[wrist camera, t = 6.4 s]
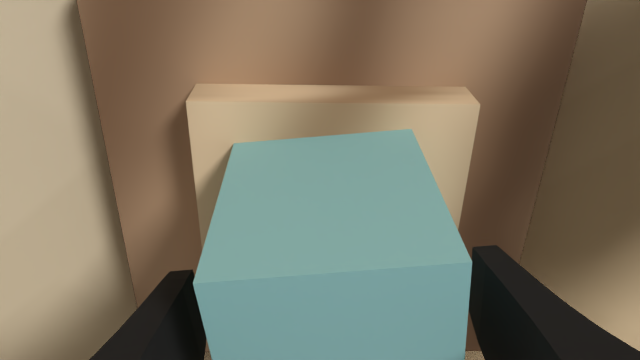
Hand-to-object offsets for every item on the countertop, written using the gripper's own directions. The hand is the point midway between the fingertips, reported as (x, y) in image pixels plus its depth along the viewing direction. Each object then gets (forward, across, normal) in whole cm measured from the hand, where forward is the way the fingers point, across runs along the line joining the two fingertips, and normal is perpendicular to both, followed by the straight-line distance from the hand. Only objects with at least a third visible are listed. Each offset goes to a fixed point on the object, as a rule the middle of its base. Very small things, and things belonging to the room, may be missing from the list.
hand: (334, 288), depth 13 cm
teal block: (+3, 0, 0) cm, 3 cm away
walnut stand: (+6, 0, 0) cm, 6 cm away
